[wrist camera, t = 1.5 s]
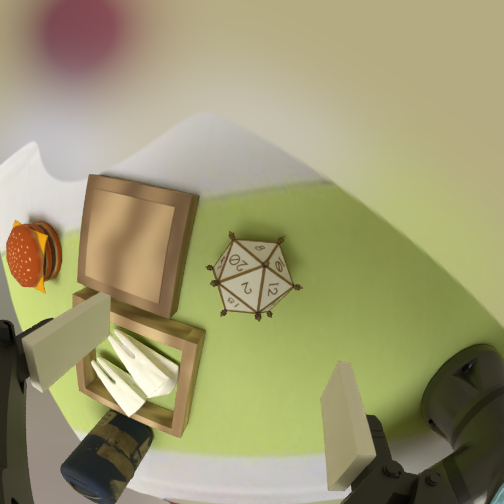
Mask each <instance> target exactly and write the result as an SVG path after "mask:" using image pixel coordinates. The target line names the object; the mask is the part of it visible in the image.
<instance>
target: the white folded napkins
mask: <svg viewBox="0 0 504 504" xmlns="http://www.w3.org/2000/svg"><path fill="white" fill-rule="evenodd" d="M114 332H115V334H116V335H117V337H118V338H119V339H120V340H121V341H122V343H120V342H119V341H117V340H116V339H115V338H114V337H113V335H112V334H111V333H110V336H109V337H108V339H109V341H110V343H111V345H112V346H113V348H114V350H115V351H116V353H117V355H118V356H119V358H120V359H121V361H122V362H123V364H124V365H125V367H126V368H127V370H128V371H129V373H130V374H131V375H132V376H131V375H130V374H128V373H126V372H125V371H123V370H122V369H120V368H118V367H117V366H115V365H114V364H112V363H111V362H109V361H107V360H106V359H104V358H102V357H100V356H97V360H98V361H99V363H100V364H101V365H102V367H103V368H104V369H105V370H106V371H107V372H108V373H109V375H110V376H111V377H112V378H113V379H114V380H112V379H111V378H110V377H109V376H108V375H107V374H106V373H105V372H104V371H103V370H102V368H101V367H100V366H99V365H98V364H97V363H96V362H95V361H94V360H92V361H91V364H92V366H93V368H94V370H95V371H96V373H97V375H98V376H99V378H100V379H101V381H102V382H103V384H104V385H105V387H106V388H107V390H108V391H109V392H110V394H111V395H112V397H113V398H114V399H115V401H116V402H117V403H118V404H119V406H120V407H121V408H122V410H123V411H124V412H125V413H126V414H127V416H128V417H130V416H131V415H132V414H133V413H135V412H136V411H137V410H138V409H140V407H141V406H142V405H143V404H144V403H145V401H147V400H146V399H147V398H152V397H156V396H161V395H167V394H169V393H170V392H171V391H172V390H173V389H174V387H175V385H176V382H177V379H178V374H179V365H177V364H175V363H174V362H172V361H170V360H169V359H167V358H165V357H164V356H162V355H160V354H159V353H157V352H155V351H154V350H152V349H150V348H149V347H147V346H145V345H144V344H142V343H141V342H139V341H137V340H136V339H134V338H132V337H131V336H129V335H128V334H126V333H124V332H122V331H120V330H119V329H116V328H115V329H114Z"/></svg>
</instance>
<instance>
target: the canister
mask: <svg viewBox="0 0 504 504" xmlns="http://www.w3.org/2000/svg"><path fill="white" fill-rule="evenodd" d="M151 443H152V436H151V433H150V431H149V429H148V428H147V427H146V425H145V424H143V423H141V422H139V421H137V420H135V419H132V418H130V417H128V416H126V415H124V414H122V413H120V412H118V411H116V410H110V411H108V412H107V413H106V414H105V415H104V416H103V418H102V419H101V420H100V421H99V422H98V423H97V424H96V426H95V427H94V428H93V429H92V430H91V431H90V432H89V433H88V435H87V436H86V437H85V438H84V439H83V440H82V442H81V443H80V444H79V445H78V447H77V448H76V449H75V450H74V451H73V452H72V454H71V455H70V456H69V457H68V458H67V459H66V460H65V462H64V463H63V464H62V465H61V469H60V470H61V473H62V475H63V477H64V479H65V480H66V481H67V482H68V483H69V484H70V485H71V486H72V487H73V489H74V490H75V491H77V492H78V493H79V494H81V495H83V496H84V497H86V498H88V499H89V500H91V501H93V502H95V503H97V504H115V503H116V502H117V500H118V499H119V497H120V495H121V494H122V492H123V490H124V489H125V488H126V486H127V484H128V483H129V481H130V480H131V479H132V478H133V476H134V473H135V471H136V469H137V467H138V466H139V464H140V462H141V461H142V459H143V458H144V456H145V454H146V453H147V451H148V449H149V447H150V446H151Z"/></svg>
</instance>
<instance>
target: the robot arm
mask: <svg viewBox="0 0 504 504" xmlns="http://www.w3.org/2000/svg"><path fill="white" fill-rule="evenodd" d="M110 302H111V296H110V295H107V294H105V293H102V292H99V293H98V294H96V295H94V296H92V297H91V298H89V299H87V300H85V301H84V302H82V303H80V304H78V305H77V306H75V307H73V308H72V309H70V310H68V311H67V312H65V313H63V314H61V315H60V316H58V317H56V318H55V319H54V318H49V319H45V320H43V321H41V322H39V323H37V325H34V326H32V328H29V329H27V330H26V331H24V332H22V333H21V334H19V335H17V336H15V330H14V325H13V324H12V323H11V322H10V321H7V320H0V504H34V501H33V496H32V491H31V485H30V478H29V468H28V458H27V444H26V388H27V384H26V379H27V378H28V377H30V379H31V383H32V386H34V387H35V388H37V389H38V390H39V391H41V392H42V393H43V392H44V391H46V390H47V389H48V388H49V387H50V386H51V385H52V384H54V383H55V382H56V381H57V380H58V379H59V378H60V377H62V376H63V375H64V374H65V373H66V372H67V371H68V370H70V369H71V368H72V367H73V366H74V365H75V364H77V363H78V362H79V361H80V360H81V359H82V358H84V357H85V356H86V355H87V354H88V353H90V352H91V351H92V350H93V349H94V348H95V347H97V346H98V345H99V344H100V343H101V342H103V341H104V340H105V339H106V338H107V337H109V336H110ZM320 400H321V409H322V419H323V430H324V441H325V454H326V467H327V483H328V491H345V490H346V489H347V488H348V487H349V486H350V485H351V489H352V492H351V493H350V494H349V495H348V496H347V497H346V498H345V499H344V500H343V501H342V502H341V504H504V358H503V357H502V355H501V354H500V353H499V352H498V351H497V350H496V349H494V348H493V347H492V346H490V345H486V344H480V345H475V346H472V347H469V348H467V349H465V350H463V351H461V352H460V353H458V354H457V355H455V356H454V357H453V358H451V359H450V360H449V361H448V362H447V363H446V364H445V365H444V366H443V367H442V368H441V369H440V370H439V371H438V372H437V373H436V375H435V376H434V377H433V378H432V380H431V381H430V383H429V385H428V386H427V388H426V390H425V393H424V395H423V398H422V402H421V412H422V415H423V417H424V419H425V421H426V423H427V425H428V426H429V427H430V428H431V429H432V430H433V431H435V432H436V433H437V434H439V435H440V436H441V437H443V438H444V439H445V440H446V441H448V442H449V443H450V444H451V446H452V448H453V450H454V452H453V453H452V454H450V455H449V456H447V457H446V458H444V459H442V460H441V461H439V462H438V463H436V464H434V465H433V466H431V467H429V468H428V469H426V470H424V471H423V472H421V473H419V474H417V475H416V474H411V473H407V472H404V469H403V468H402V466H401V465H400V464H399V463H398V462H396V461H394V460H392V458H391V454H390V451H389V447H388V444H387V441H386V438H385V434H384V432H383V428H382V425H381V422H380V421H379V420H378V419H377V417H376V416H375V415H366V414H365V410H364V407H363V403H362V400H361V396H360V393H359V390H358V386H357V383H356V379H355V376H354V373H353V370H352V366H351V363H345V362H340V361H338V362H337V364H336V366H335V368H334V371H333V373H332V375H331V377H330V379H329V381H328V384H327V386H326V388H325V390H324V392H323V394H322V396H321V398H320Z"/></svg>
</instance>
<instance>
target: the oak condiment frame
mask: <svg viewBox="0 0 504 504" xmlns="http://www.w3.org/2000/svg"><path fill="white" fill-rule="evenodd" d="M98 293H99V291H96V290H94V289H92V288H89V287H86V288H84V289H82V290H80V291H78V292H76V293H73V307H75V306H77V305H78V304H80V303H82V302H84V301H85V300H87V299H89V298H91V297H92V296H94V295H96V294H98ZM110 322H112V323H114V324H116V325H118V326H121V327H123V328H125V329H128V330H130V331H132V332H135V333H137V334H140V335H142V336H145V337H147V338H150V339H152V340H155V341H158V342H160V343H163V344H165V345H168V346H171V347H174V348H176V349H179V350H182V351H183V352H182V359H181V365H180V372H179V378H178V385H177V392H176V399H175V407H174V412H172V411H169V410H167V409H164V408H162V407H159V406H157V405H154V404H152V403H150V402H147V401H145V403H144V404H143V405H142V406H141V407H140V409H138V410H137V411H136V412H135V413H133V414H132V415H131V416H130V418H132V419H135V420H137V421H139V422H141V423H143V424H146V425H148V426H150V427H153V428H155V429H158V430H160V431H163V432H165V433H168V434H170V435H173V436H176V437H178V438H181V437H182V435H183V432H184V430H185V428H186V426H187V424H188V420H189V414H190V409H191V403H192V398H193V393H194V388H195V382H196V377H197V372H198V367H199V362H200V357H201V352H202V347H203V342H204V337H205V332H206V331H204V330H201V329H198V328H195V327H192V326H189V325H186V324H183V323H180V322H177V321H174V320H172V319H168V318H165V317H162V316H159V315H157V314H154V313H151V312H149V311H146V310H143V309H141V308H138V307H135V306H133V305H130V304H128V303H125V302H123V301H120V300H118V299H115V298H113V297H111V302H110ZM92 360H94V361H95V362H96V355H95V348H94V349H93V350H92V351H91V352H90V353H88V354H87V355H86V356H85V357H84V358H82V359H81V360H80V361H79V362H78V363H77V364H76V370H77V378H78V386H79V391H81V392H82V393H84V394H86V395H88V396H89V397H91V398H93V399H95V400H97V401H98V402H100V403H102V404H104V405H106V406H108V407H110V408H112V409H114V410H116V411H118V412H120V413H122V414H124V415H126V416H127V414H126V413H125V412H124V411H123V410H122V408H121V407H120V406H119V404H118V403H117V402H116V401H115V399H114V398H113V397H112V395H111V394H110V392H109V391H108V390H107V388H106V387H105V385H104V384H103V382H102V381H101V379H99V378H97V373H96V371H95V370H94V368H93V366H92V364H91V361H92Z"/></svg>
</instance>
